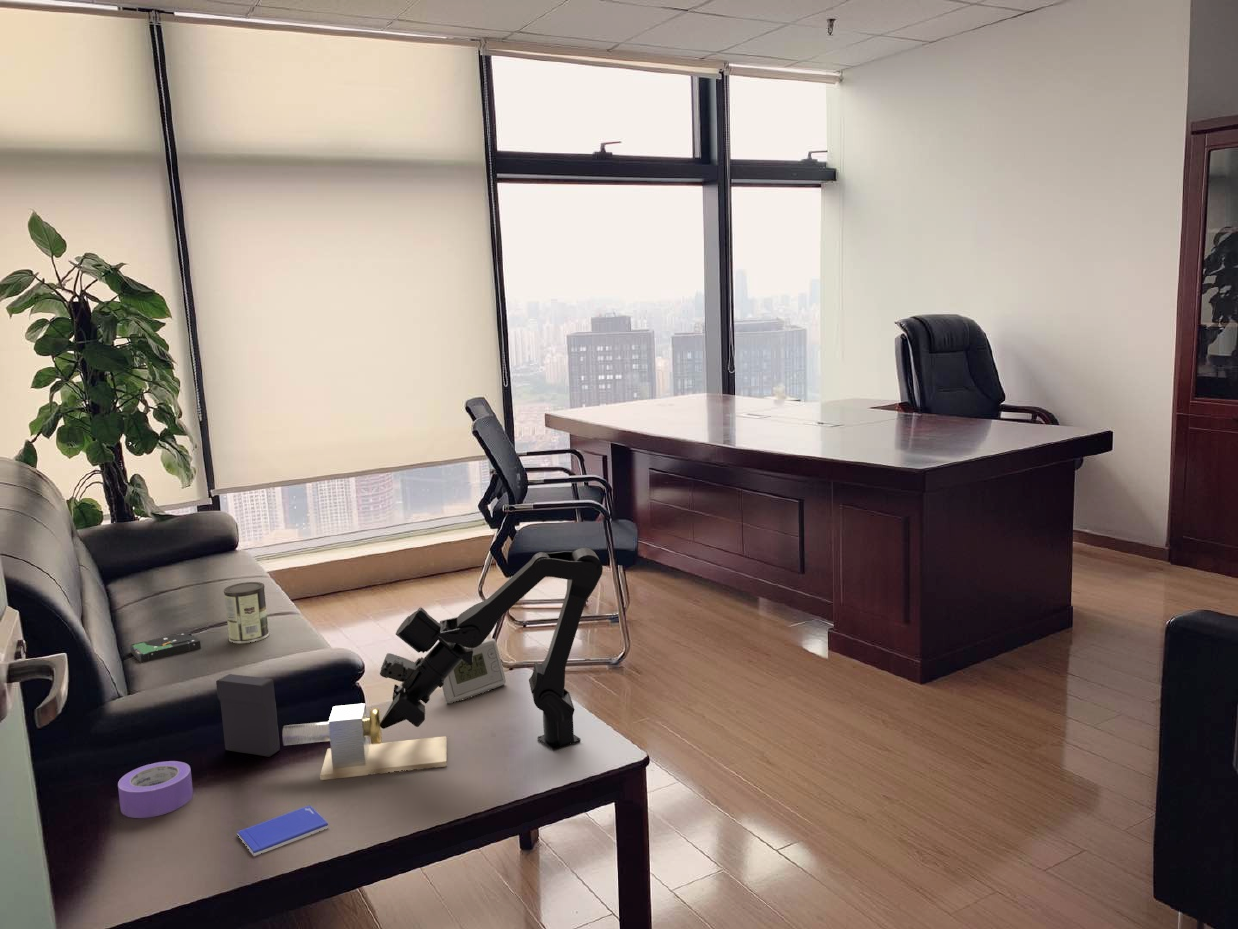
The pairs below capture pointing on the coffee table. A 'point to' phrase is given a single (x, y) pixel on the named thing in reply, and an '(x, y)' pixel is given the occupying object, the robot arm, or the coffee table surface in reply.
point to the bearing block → (348, 736)
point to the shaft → (321, 732)
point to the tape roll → (155, 789)
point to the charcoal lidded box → (248, 714)
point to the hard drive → (282, 830)
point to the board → (393, 758)
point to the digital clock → (475, 674)
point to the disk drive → (165, 646)
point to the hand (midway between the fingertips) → (381, 726)
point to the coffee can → (246, 612)
